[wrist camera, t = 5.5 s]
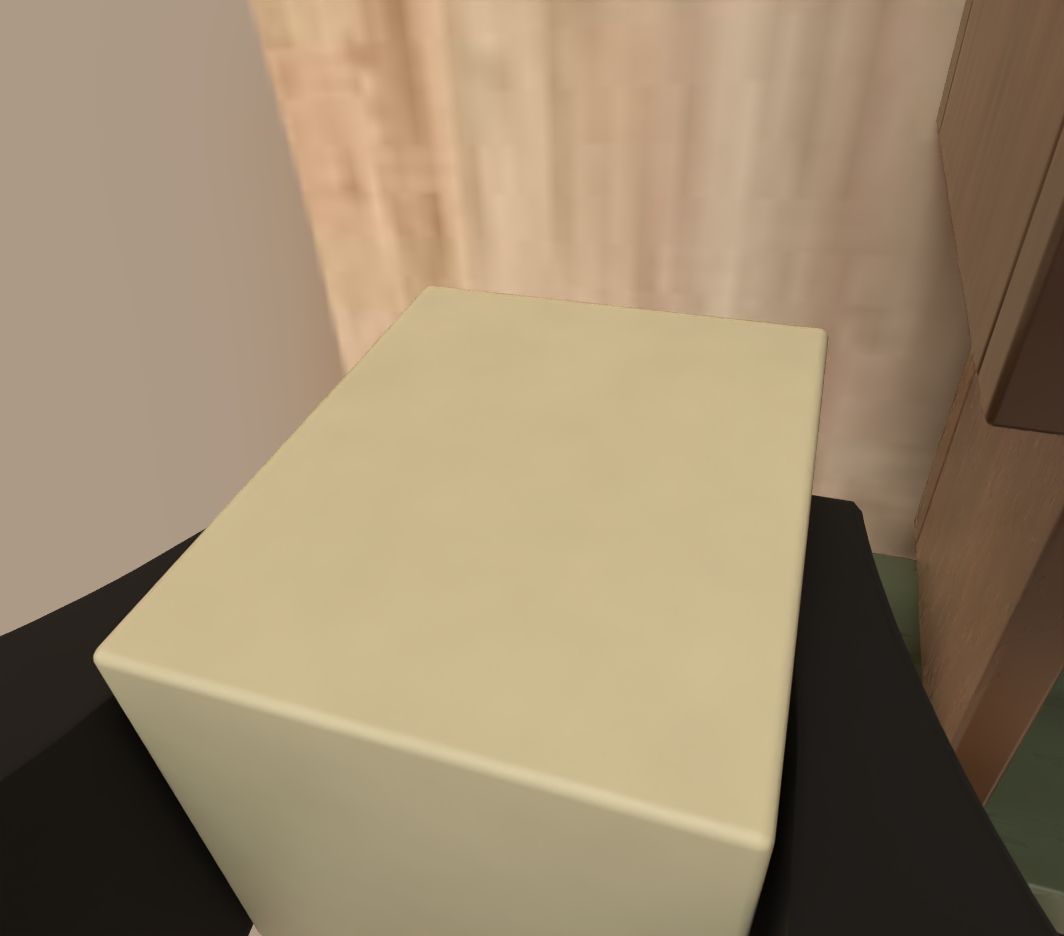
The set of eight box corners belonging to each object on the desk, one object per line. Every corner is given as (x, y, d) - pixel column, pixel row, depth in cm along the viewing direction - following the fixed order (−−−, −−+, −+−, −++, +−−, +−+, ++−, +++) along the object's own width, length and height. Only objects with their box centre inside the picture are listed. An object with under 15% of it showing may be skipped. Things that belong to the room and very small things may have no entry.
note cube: (771, 619, 11) (704, 1102, 7) (464, 556, 12) (257, 936, 8) (829, 326, 8) (776, 848, 4) (426, 282, 9) (82, 656, 5)
